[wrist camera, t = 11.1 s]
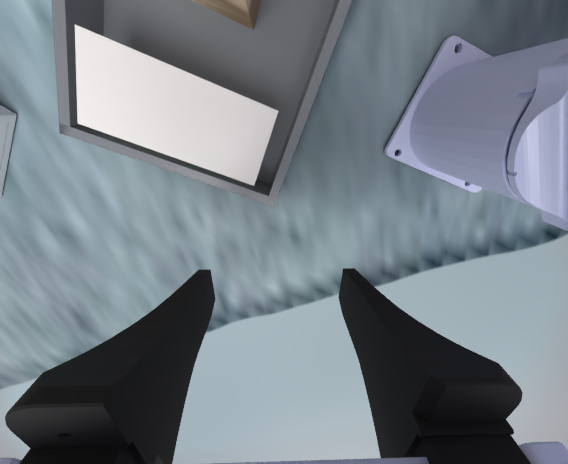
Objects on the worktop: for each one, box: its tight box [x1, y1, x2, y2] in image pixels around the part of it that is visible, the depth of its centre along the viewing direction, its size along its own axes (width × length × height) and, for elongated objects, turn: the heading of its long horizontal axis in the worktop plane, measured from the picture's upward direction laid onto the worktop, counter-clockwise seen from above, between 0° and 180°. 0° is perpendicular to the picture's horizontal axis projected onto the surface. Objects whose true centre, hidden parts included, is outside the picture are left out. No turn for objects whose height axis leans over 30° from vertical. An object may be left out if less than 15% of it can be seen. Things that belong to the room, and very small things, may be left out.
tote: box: [52, 0, 352, 206], centre depth 13 cm, size 14×18×4 cm
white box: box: [75, 25, 278, 186], centre depth 15 cm, size 10×5×4 cm, turn 69°
